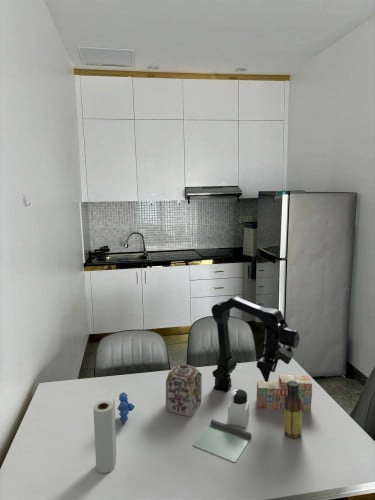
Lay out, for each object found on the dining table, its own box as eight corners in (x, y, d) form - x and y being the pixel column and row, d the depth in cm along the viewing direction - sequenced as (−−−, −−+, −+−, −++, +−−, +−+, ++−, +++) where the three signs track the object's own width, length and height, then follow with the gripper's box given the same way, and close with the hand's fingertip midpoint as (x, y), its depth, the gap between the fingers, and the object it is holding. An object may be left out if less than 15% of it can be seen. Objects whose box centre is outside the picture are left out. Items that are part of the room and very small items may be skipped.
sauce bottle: (302, 431, 134) (305, 381, 131) (300, 441, 128) (302, 389, 125) (284, 426, 137) (286, 377, 134) (281, 436, 131) (283, 385, 128)
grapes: (135, 430, 134) (134, 400, 133) (117, 432, 133) (116, 402, 132) (134, 412, 146) (134, 384, 144) (117, 413, 145) (116, 385, 143)
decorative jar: (165, 411, 146) (164, 369, 144) (176, 396, 157) (176, 357, 154) (192, 418, 142) (192, 375, 139) (202, 402, 152) (202, 362, 150)
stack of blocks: (257, 408, 148) (258, 380, 146) (256, 400, 154) (257, 373, 152) (311, 411, 146) (312, 383, 144) (307, 402, 152) (308, 375, 150)
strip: (210, 425, 137) (210, 421, 137) (212, 423, 138) (212, 419, 138) (250, 439, 129) (250, 435, 129) (251, 437, 130) (251, 433, 130)
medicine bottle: (249, 417, 142) (249, 388, 140) (246, 428, 136) (246, 398, 134) (231, 413, 145) (231, 385, 143) (227, 424, 138) (228, 395, 136)
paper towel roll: (97, 476, 112) (95, 413, 109) (94, 463, 118) (91, 402, 115) (120, 469, 115) (118, 407, 112) (116, 456, 121) (114, 397, 118)
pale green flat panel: (193, 445, 126) (193, 445, 126) (208, 427, 136) (208, 426, 136) (235, 463, 118) (235, 462, 118) (248, 441, 128) (248, 441, 128)
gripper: (286, 354, 134) (283, 393, 136) (297, 337, 150) (295, 372, 152) (257, 347, 139) (255, 384, 142) (271, 331, 155) (269, 365, 158)
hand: (269, 376), depth 148 cm, fingers open, 9 cm apart
